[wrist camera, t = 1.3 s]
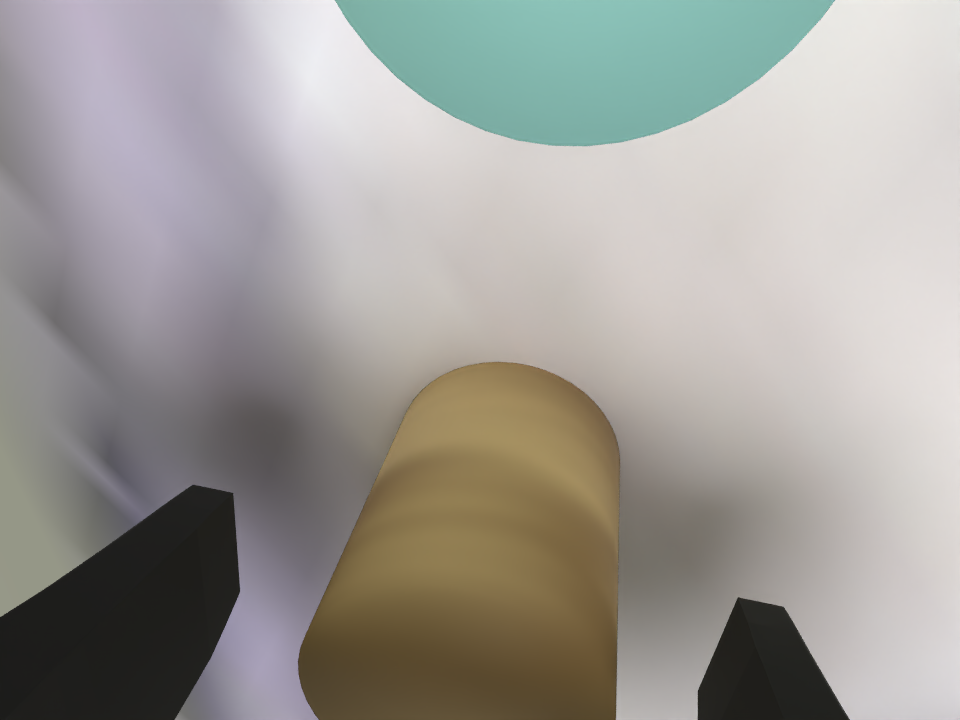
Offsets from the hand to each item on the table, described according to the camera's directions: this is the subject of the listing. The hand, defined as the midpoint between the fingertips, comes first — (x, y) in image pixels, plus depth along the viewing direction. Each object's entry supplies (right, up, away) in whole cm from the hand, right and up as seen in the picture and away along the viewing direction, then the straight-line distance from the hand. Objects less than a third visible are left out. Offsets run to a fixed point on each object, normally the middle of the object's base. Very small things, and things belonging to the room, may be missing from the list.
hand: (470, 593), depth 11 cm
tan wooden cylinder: (+1, +2, +3) cm, 3 cm away
